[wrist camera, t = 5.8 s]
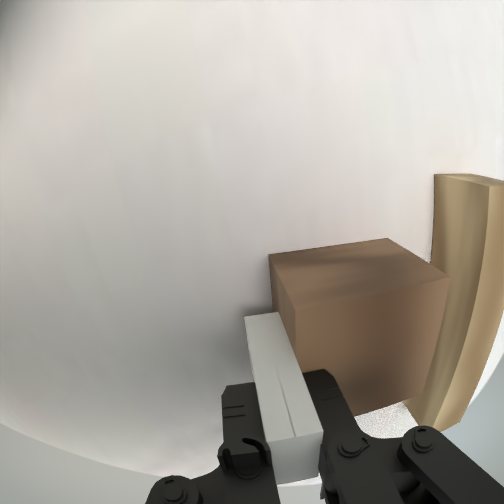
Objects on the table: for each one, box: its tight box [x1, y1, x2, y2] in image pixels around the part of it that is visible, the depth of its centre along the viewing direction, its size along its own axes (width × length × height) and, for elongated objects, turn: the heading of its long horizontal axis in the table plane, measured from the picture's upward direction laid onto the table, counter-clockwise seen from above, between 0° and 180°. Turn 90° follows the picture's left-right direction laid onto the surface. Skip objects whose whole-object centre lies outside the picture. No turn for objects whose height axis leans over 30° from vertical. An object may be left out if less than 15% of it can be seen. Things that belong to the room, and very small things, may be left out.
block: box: [269, 238, 450, 417], centre depth 13 cm, size 6×6×5 cm
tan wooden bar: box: [403, 174, 504, 432], centre depth 14 cm, size 3×16×4 cm, turn 7°
